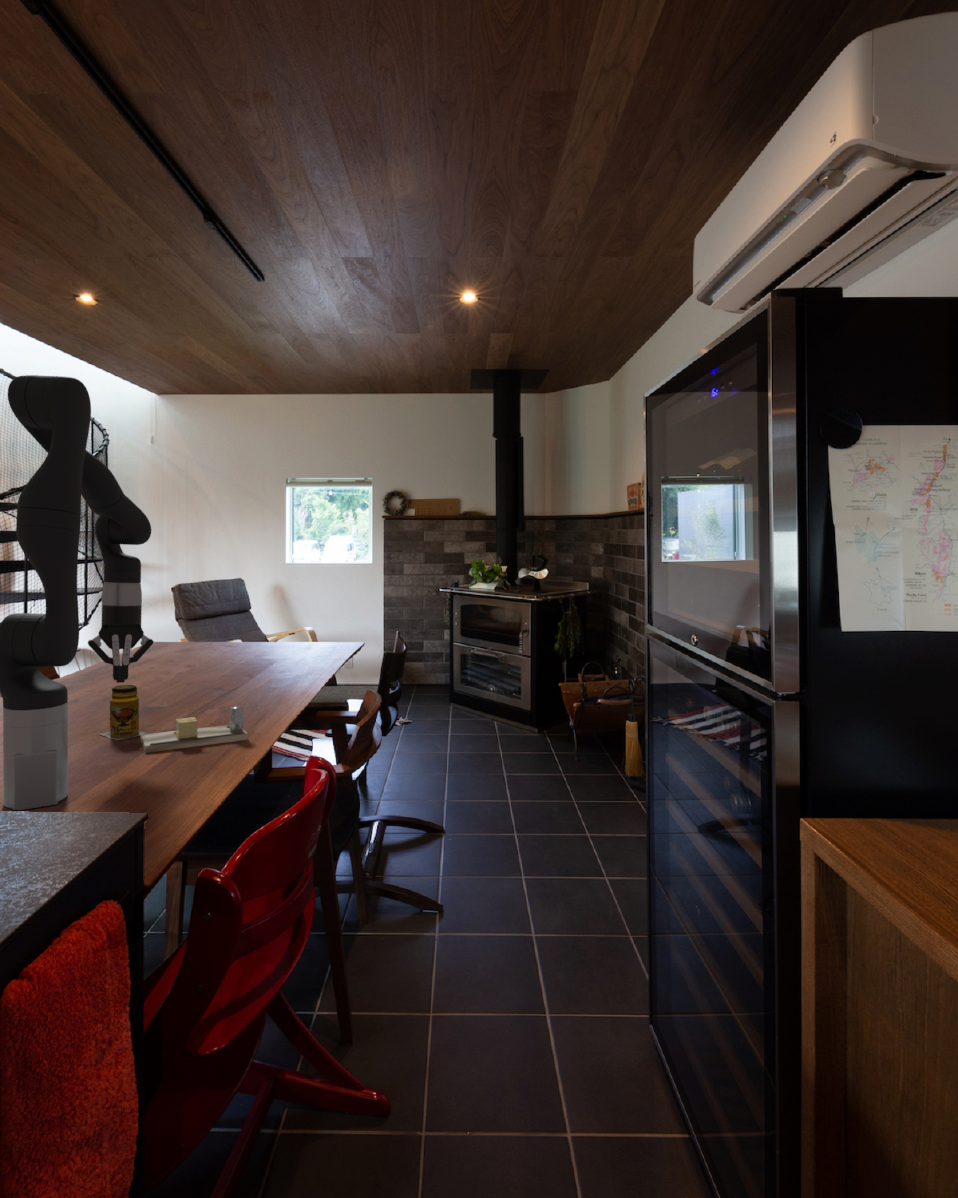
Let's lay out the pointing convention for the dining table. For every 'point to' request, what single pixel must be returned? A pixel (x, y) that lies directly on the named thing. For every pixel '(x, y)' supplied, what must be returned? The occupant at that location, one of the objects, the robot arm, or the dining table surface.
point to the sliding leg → (186, 728)
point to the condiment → (124, 713)
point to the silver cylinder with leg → (236, 719)
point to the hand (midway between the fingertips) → (120, 681)
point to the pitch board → (203, 738)
